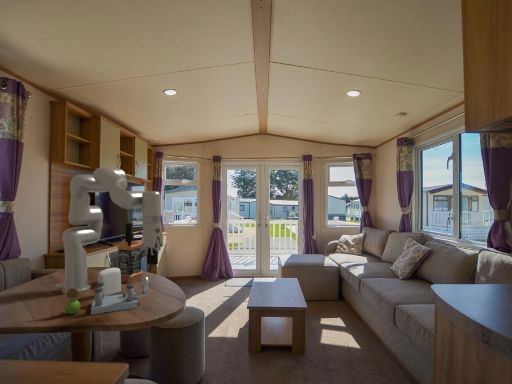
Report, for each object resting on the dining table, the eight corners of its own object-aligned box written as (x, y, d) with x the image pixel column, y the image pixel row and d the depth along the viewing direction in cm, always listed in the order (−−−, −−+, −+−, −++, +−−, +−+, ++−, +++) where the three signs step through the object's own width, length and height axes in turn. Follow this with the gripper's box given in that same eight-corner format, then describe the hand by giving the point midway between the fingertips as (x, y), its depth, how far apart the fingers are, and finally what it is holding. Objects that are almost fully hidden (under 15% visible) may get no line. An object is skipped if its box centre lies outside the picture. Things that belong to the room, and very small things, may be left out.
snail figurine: (66, 311, 124) (66, 282, 124) (83, 310, 125) (82, 281, 125) (59, 316, 119) (58, 286, 119) (76, 315, 119) (75, 285, 120)
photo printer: (100, 298, 140) (100, 271, 140) (96, 296, 143) (96, 269, 143) (122, 292, 148) (122, 266, 148) (118, 290, 151) (118, 265, 151)
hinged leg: (127, 299, 129) (127, 280, 129) (127, 297, 132) (127, 278, 132) (148, 296, 133) (148, 277, 133) (148, 294, 135) (148, 276, 135)
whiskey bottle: (115, 281, 167) (115, 223, 167) (129, 277, 176) (128, 221, 176) (130, 283, 163) (129, 223, 163) (143, 278, 172) (142, 222, 172)
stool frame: (91, 314, 120) (90, 291, 120) (94, 303, 133) (94, 282, 133) (137, 307, 127) (136, 286, 127) (136, 297, 140) (135, 277, 140)
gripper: (169, 220, 125) (170, 265, 125) (151, 219, 137) (151, 259, 137) (152, 222, 120) (153, 268, 120) (134, 220, 131) (135, 262, 131)
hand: (152, 263), depth 128 cm, fingers closed
